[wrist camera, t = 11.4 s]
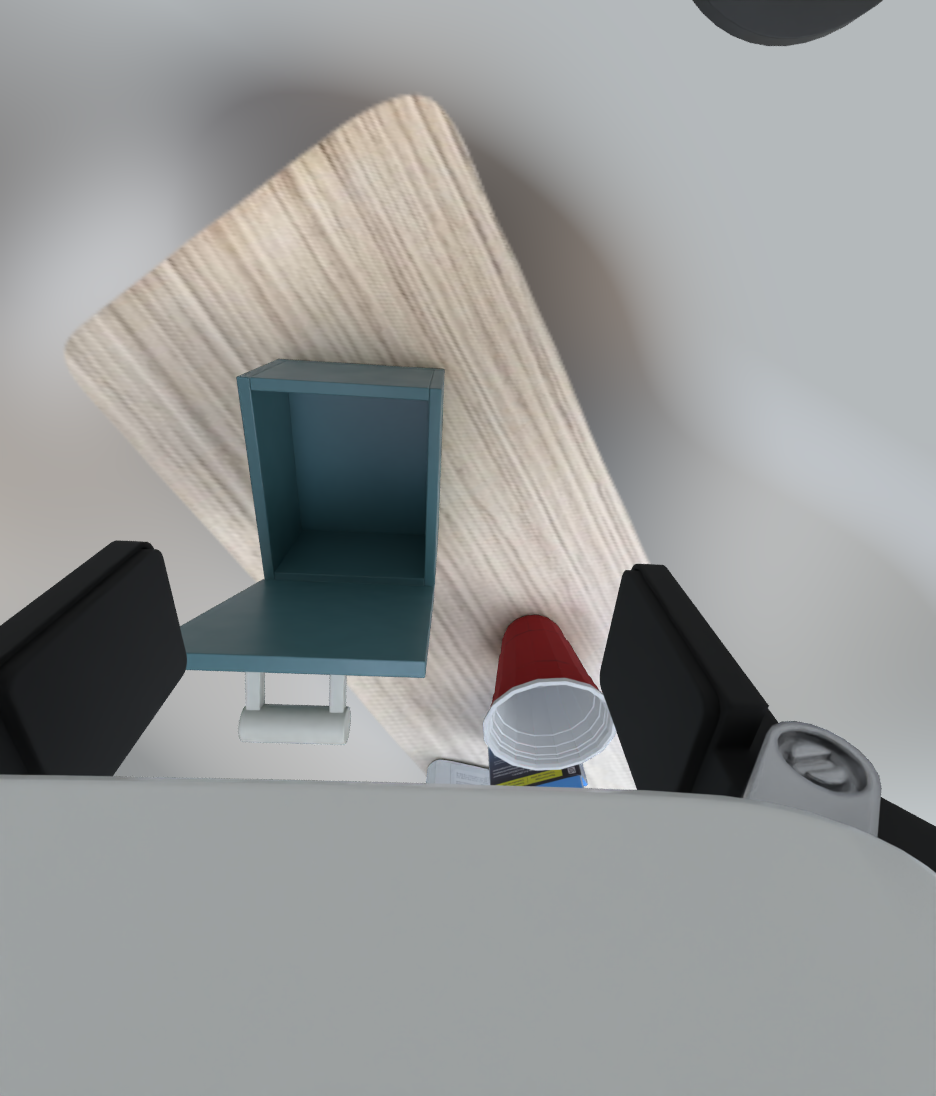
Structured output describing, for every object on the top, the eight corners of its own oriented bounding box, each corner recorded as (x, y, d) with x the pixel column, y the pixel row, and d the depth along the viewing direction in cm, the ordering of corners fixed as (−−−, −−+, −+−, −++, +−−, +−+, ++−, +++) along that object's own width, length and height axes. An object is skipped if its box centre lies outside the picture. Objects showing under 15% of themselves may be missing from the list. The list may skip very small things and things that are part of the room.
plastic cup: (469, 675, 53) (472, 773, 43) (486, 587, 48) (495, 674, 38) (571, 685, 54) (599, 784, 43) (597, 600, 49) (636, 688, 39)
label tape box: (496, 743, 58) (506, 850, 47) (484, 718, 56) (491, 823, 45) (571, 721, 56) (599, 826, 46) (562, 696, 55) (588, 798, 44)
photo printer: (421, 778, 60) (414, 888, 49) (432, 753, 58) (426, 862, 47) (504, 794, 62) (514, 905, 51) (516, 771, 60) (529, 880, 49)
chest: (277, 358, 39) (235, 376, 31) (444, 368, 39) (441, 388, 32) (295, 532, 45) (264, 581, 38) (438, 539, 46) (434, 588, 38)
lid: (135, 651, 22) (139, 762, 23) (425, 661, 23) (421, 769, 24) (262, 579, 37) (262, 647, 38) (434, 586, 38) (431, 653, 39)
